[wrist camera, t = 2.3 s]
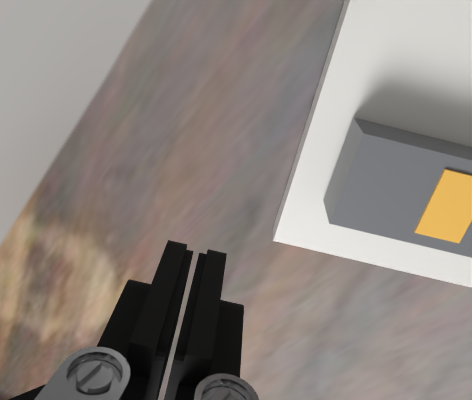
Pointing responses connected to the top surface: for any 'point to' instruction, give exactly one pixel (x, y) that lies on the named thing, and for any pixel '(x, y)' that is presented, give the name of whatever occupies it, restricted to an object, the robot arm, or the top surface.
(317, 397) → the top surface
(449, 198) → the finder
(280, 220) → the white rectangular board
